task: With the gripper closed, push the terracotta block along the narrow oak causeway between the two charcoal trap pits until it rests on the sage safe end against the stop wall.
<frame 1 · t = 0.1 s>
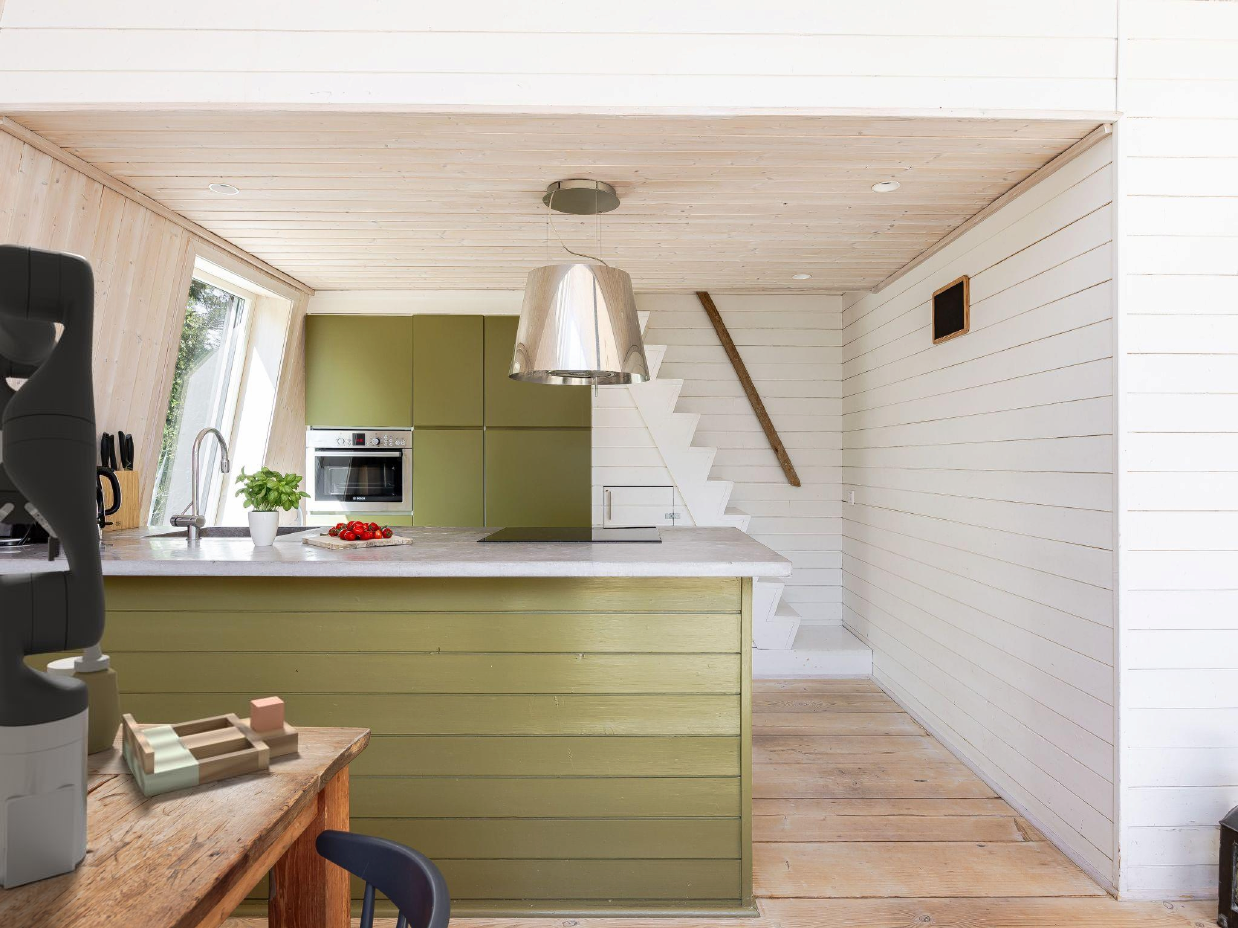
hand: (17, 562, 121), 29 cm above the table, fingers open, 8 cm apart
block: (266, 726, 124), point 3 cm above the table, touching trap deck
white cylinder: (76, 735, 127), on the table
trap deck: (212, 756, 119), on the table
squeeze bottle: (90, 749, 121), on the table
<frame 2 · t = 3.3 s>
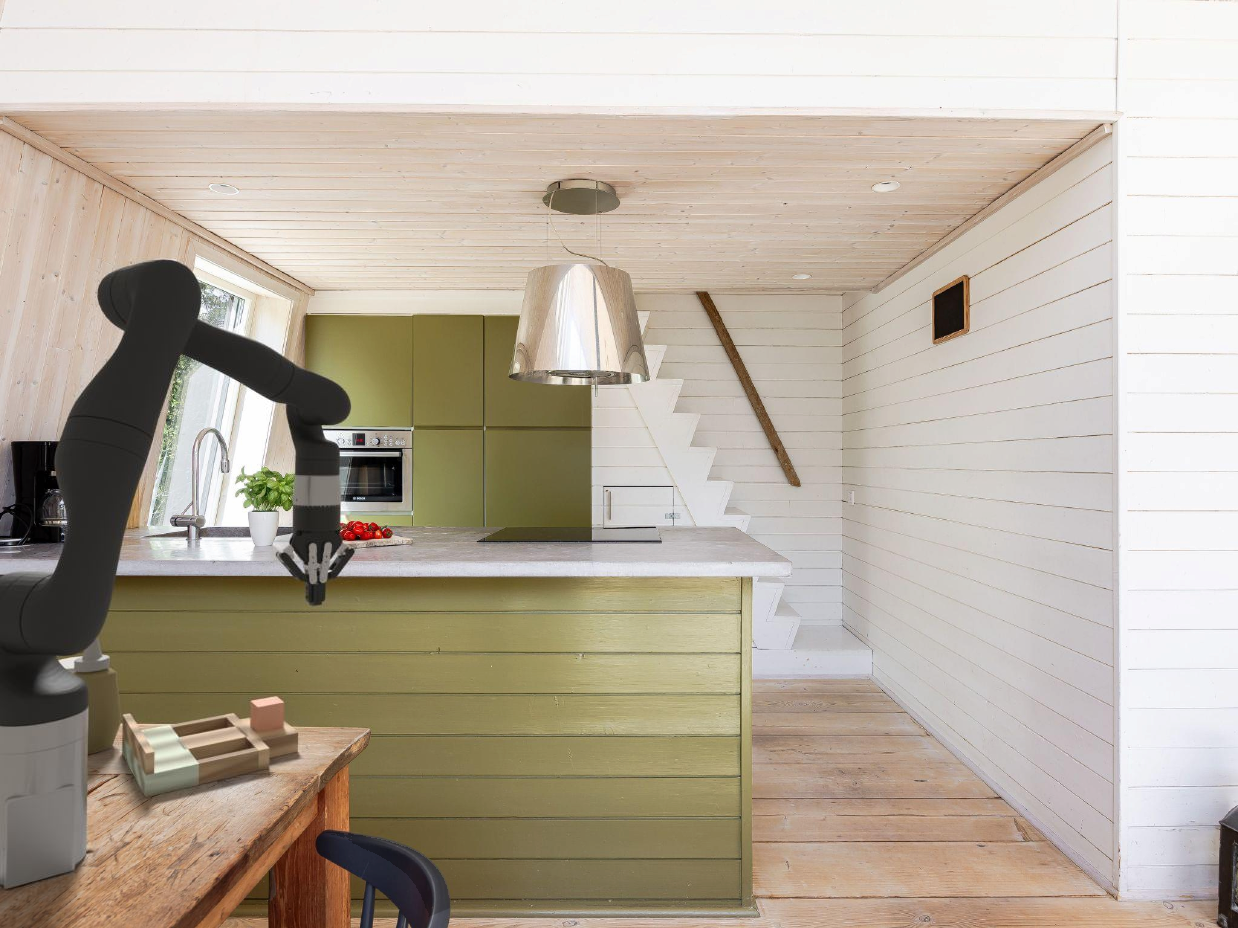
hand: (315, 604, 129), 22 cm above the table, fingers closed
nothing on the table moved.
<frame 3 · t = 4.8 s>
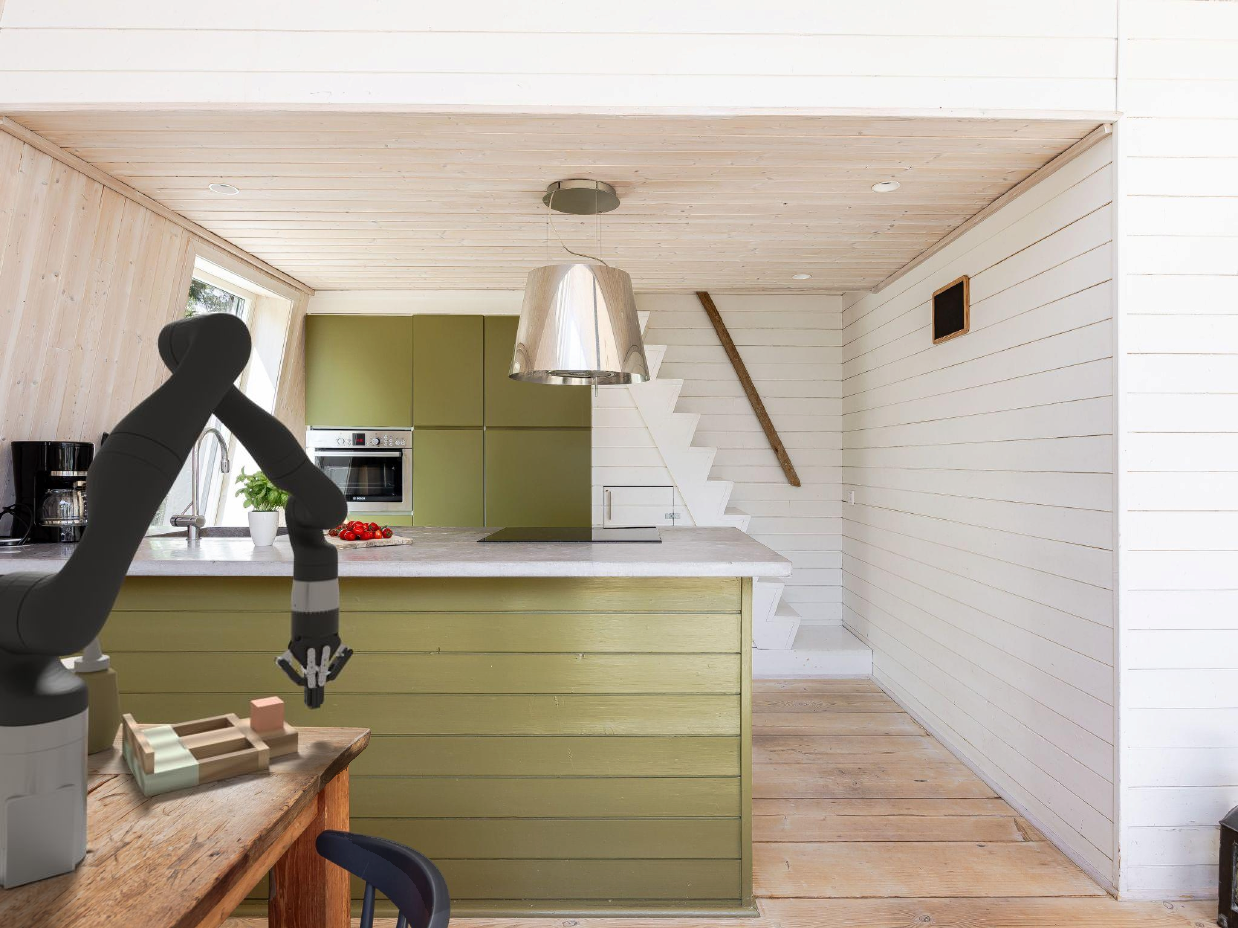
hand: (314, 707, 129), 4 cm above the table, fingers closed
nothing on the table moved.
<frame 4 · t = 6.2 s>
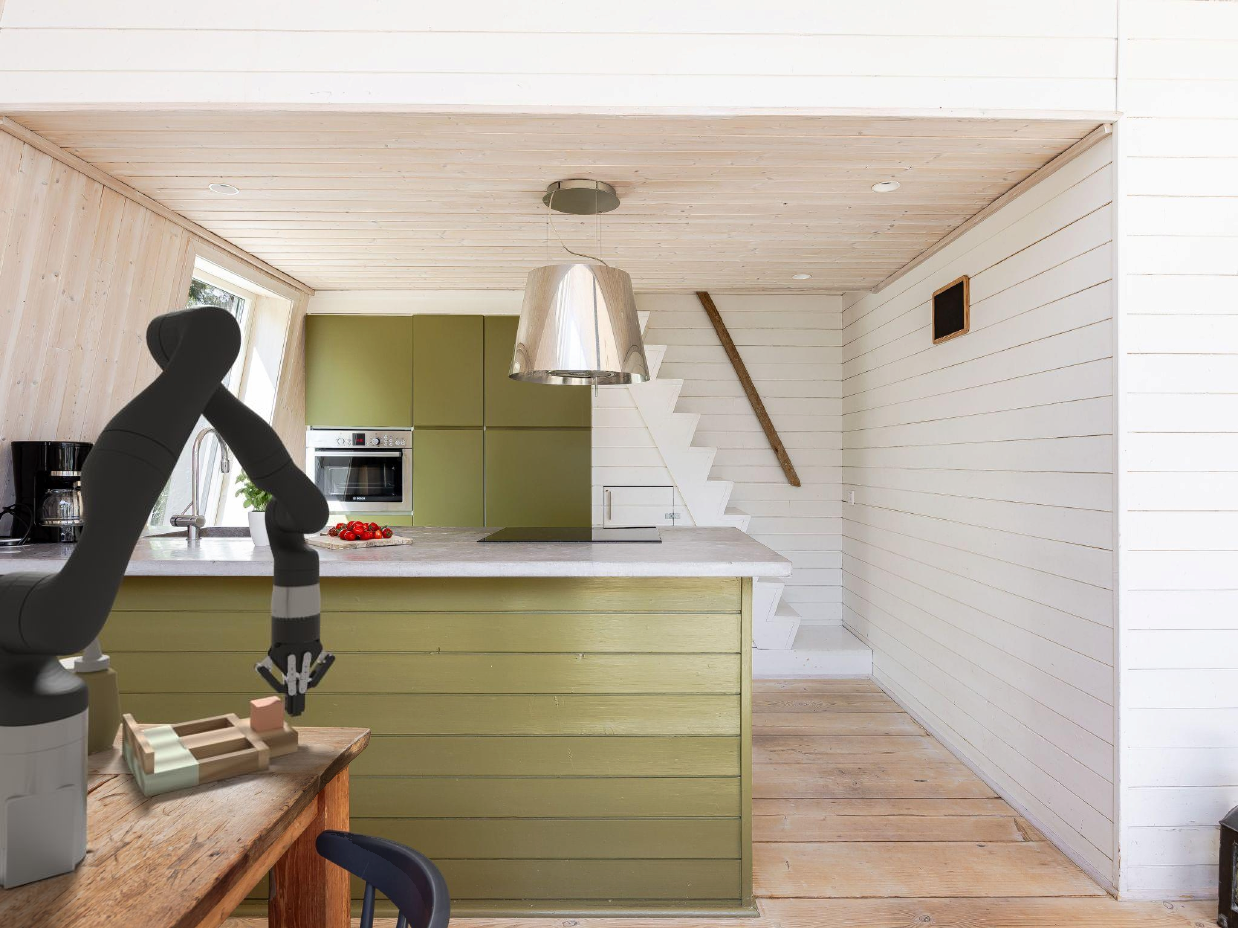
hand: (294, 715, 127), 4 cm above the table, fingers closed
block: (266, 725, 124), point 3 cm above the table, touching gripper, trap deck
everything else where it was.
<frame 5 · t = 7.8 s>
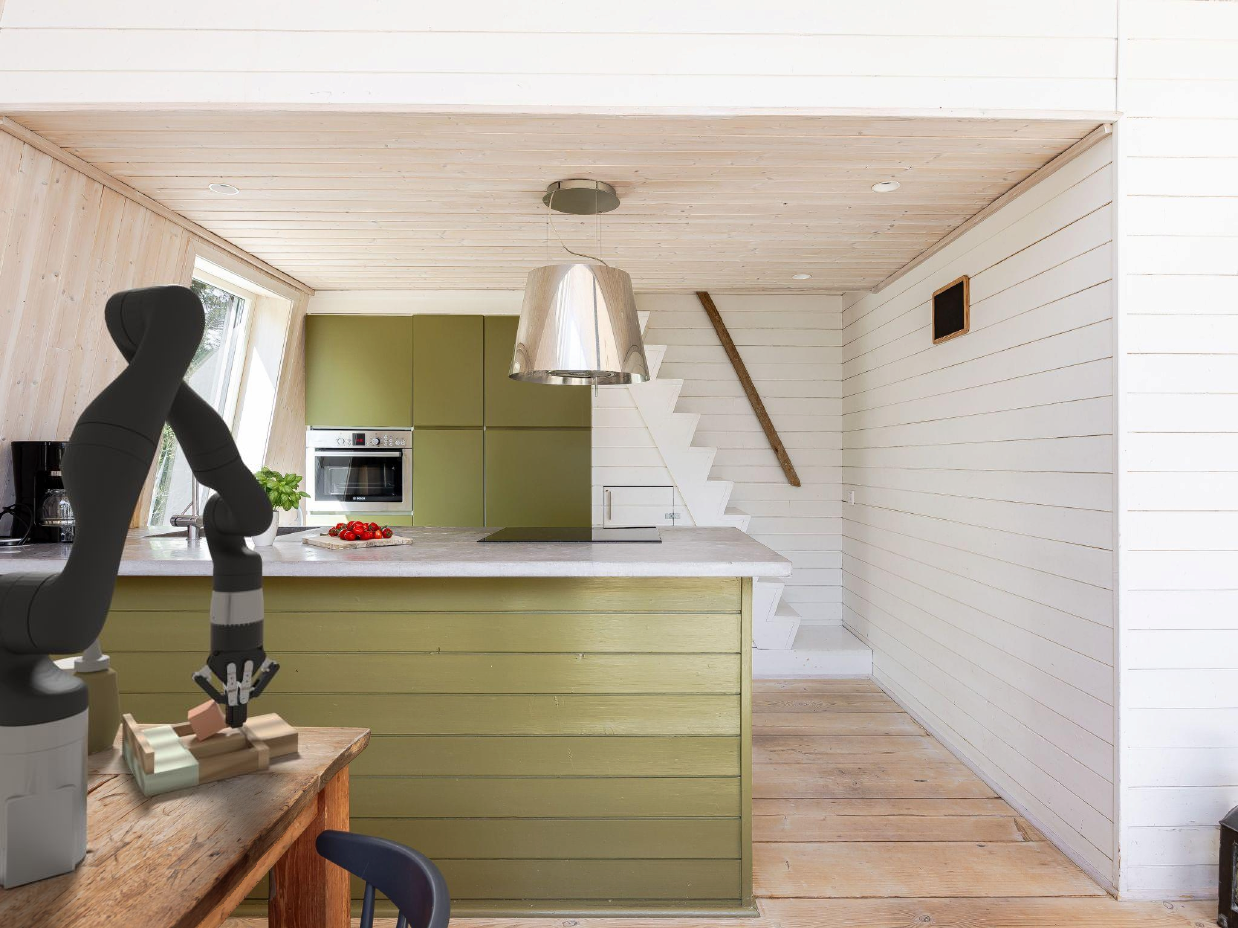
hand: (236, 726, 121), 4 cm above the table, fingers closed
block: (213, 729, 120), point 4 cm above the table, tilted 24°, touching gripper
everything else where it was.
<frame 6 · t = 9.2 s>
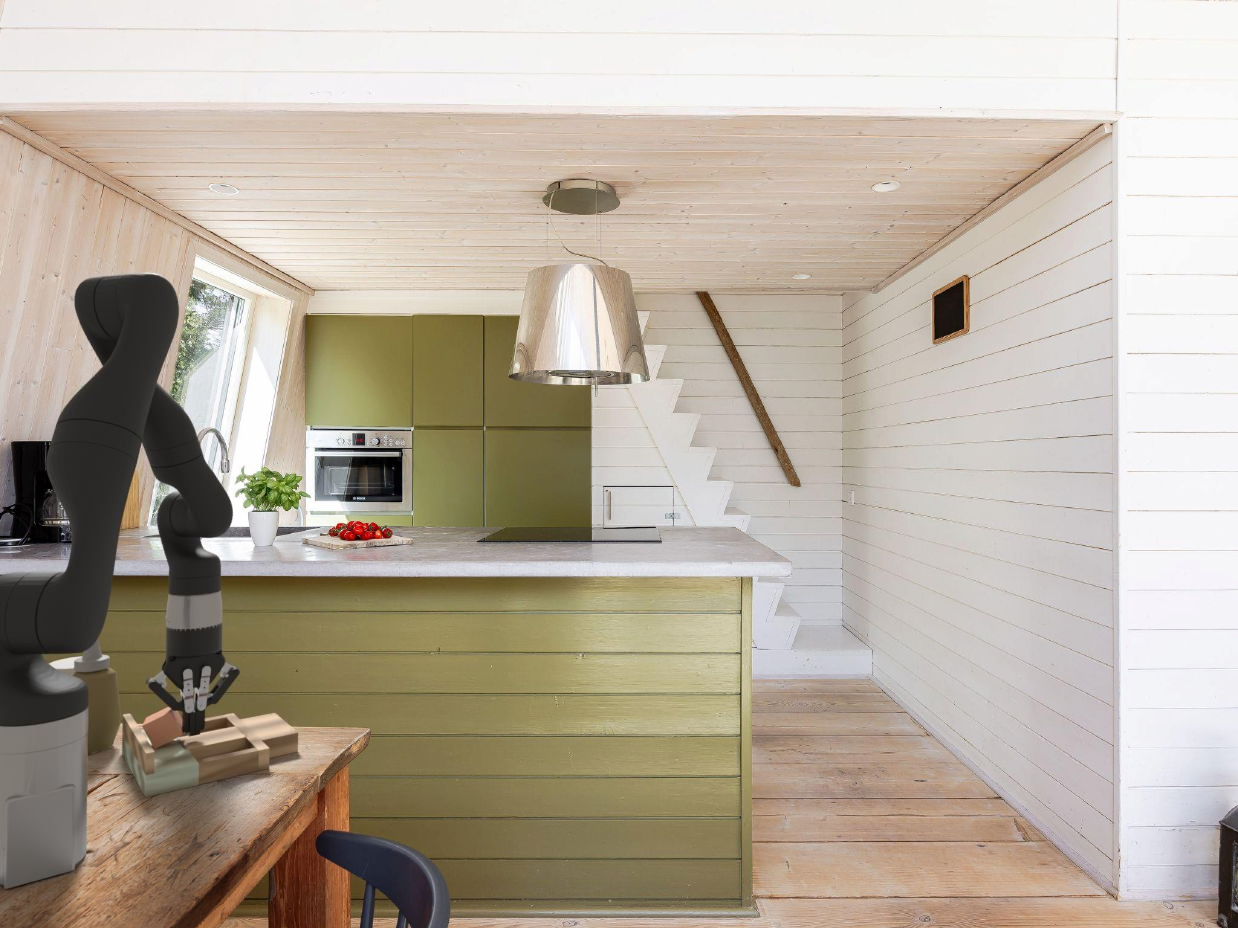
hand: (193, 733, 117), 4 cm above the table, fingers closed
block: (170, 737, 116), point 4 cm above the table, tilted 24°, touching gripper, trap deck
everything else where it was.
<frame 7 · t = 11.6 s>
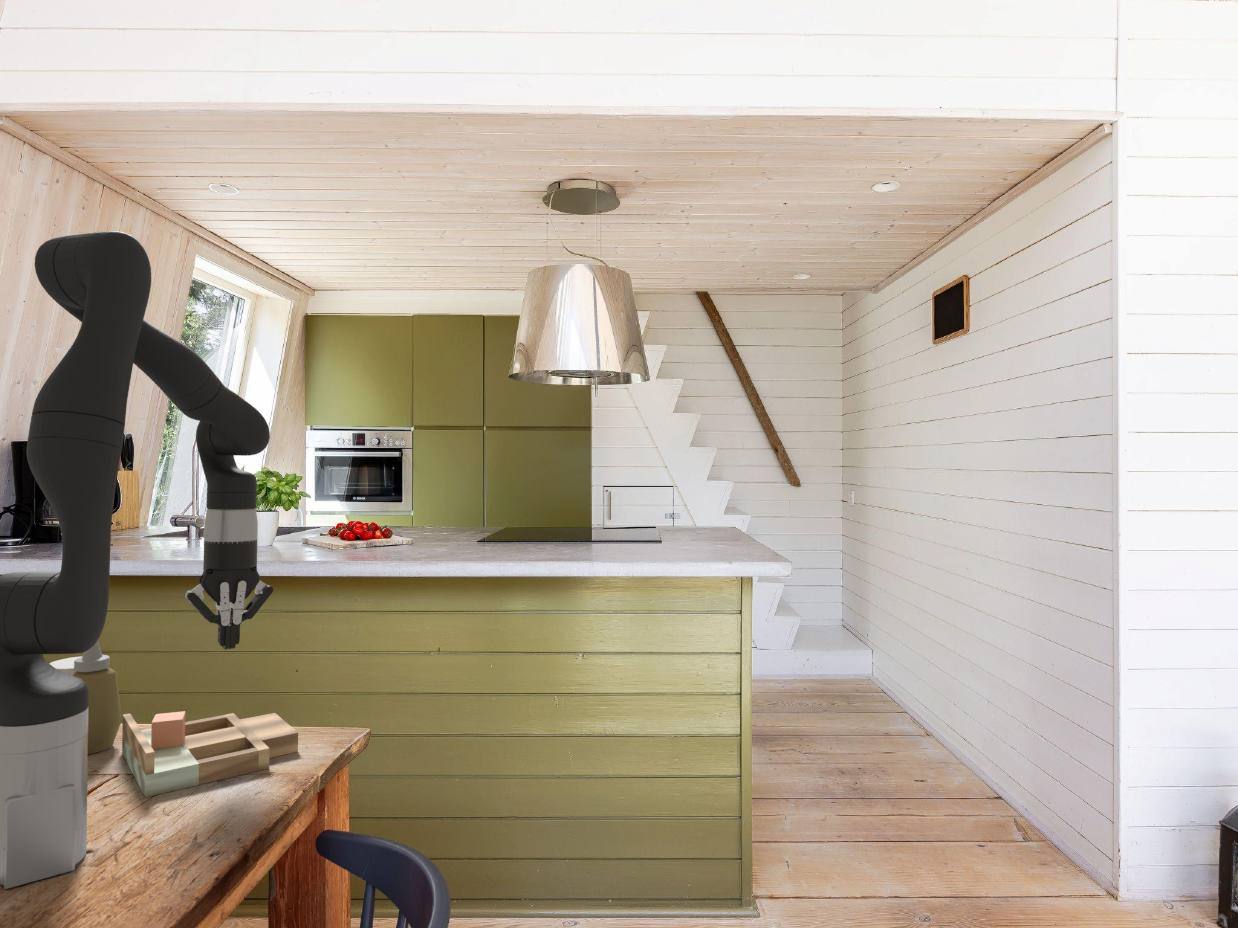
hand: (228, 647, 120), 17 cm above the table, fingers closed
block: (168, 742, 116), point 3 cm above the table, touching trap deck
everything else where it was.
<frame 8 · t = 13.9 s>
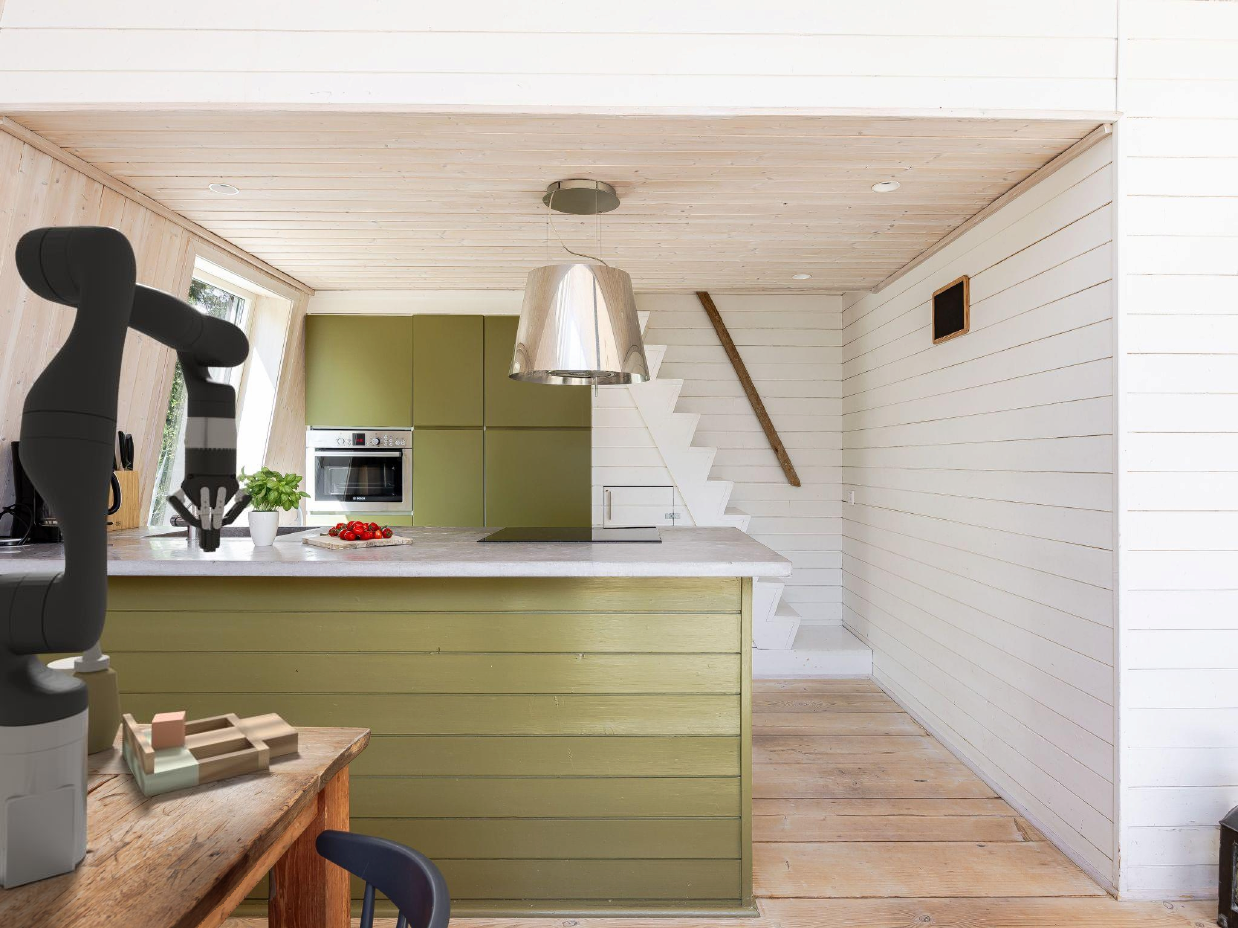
hand: (209, 551, 125), 31 cm above the table, fingers closed
nothing on the table moved.
at the end: block inside the target area (1.8 cm from its centre), point 3.0 cm above the table; block tilted 0° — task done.
